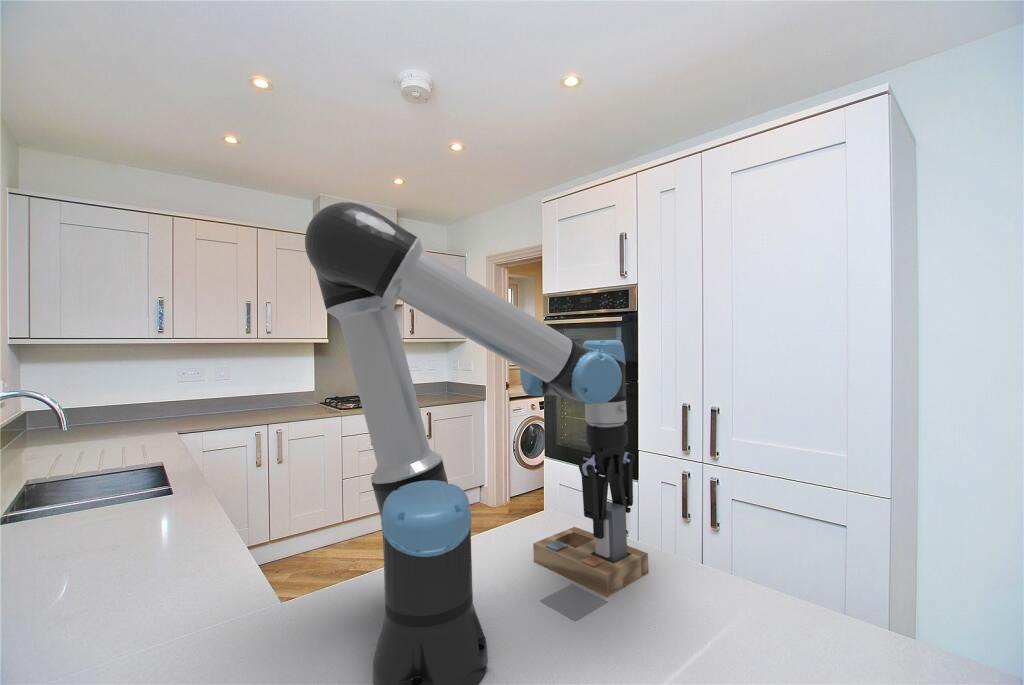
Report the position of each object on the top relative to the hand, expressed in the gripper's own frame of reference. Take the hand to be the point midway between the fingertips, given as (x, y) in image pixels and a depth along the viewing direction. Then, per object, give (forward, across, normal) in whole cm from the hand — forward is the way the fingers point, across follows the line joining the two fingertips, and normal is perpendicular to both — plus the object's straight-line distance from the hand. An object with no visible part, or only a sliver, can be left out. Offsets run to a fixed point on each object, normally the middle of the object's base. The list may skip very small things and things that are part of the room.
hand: (610, 550), depth 86 cm
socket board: (+5, -1, +4) cm, 7 cm away
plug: (+4, 0, 0) cm, 4 cm away
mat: (+5, -12, -2) cm, 13 cm away
